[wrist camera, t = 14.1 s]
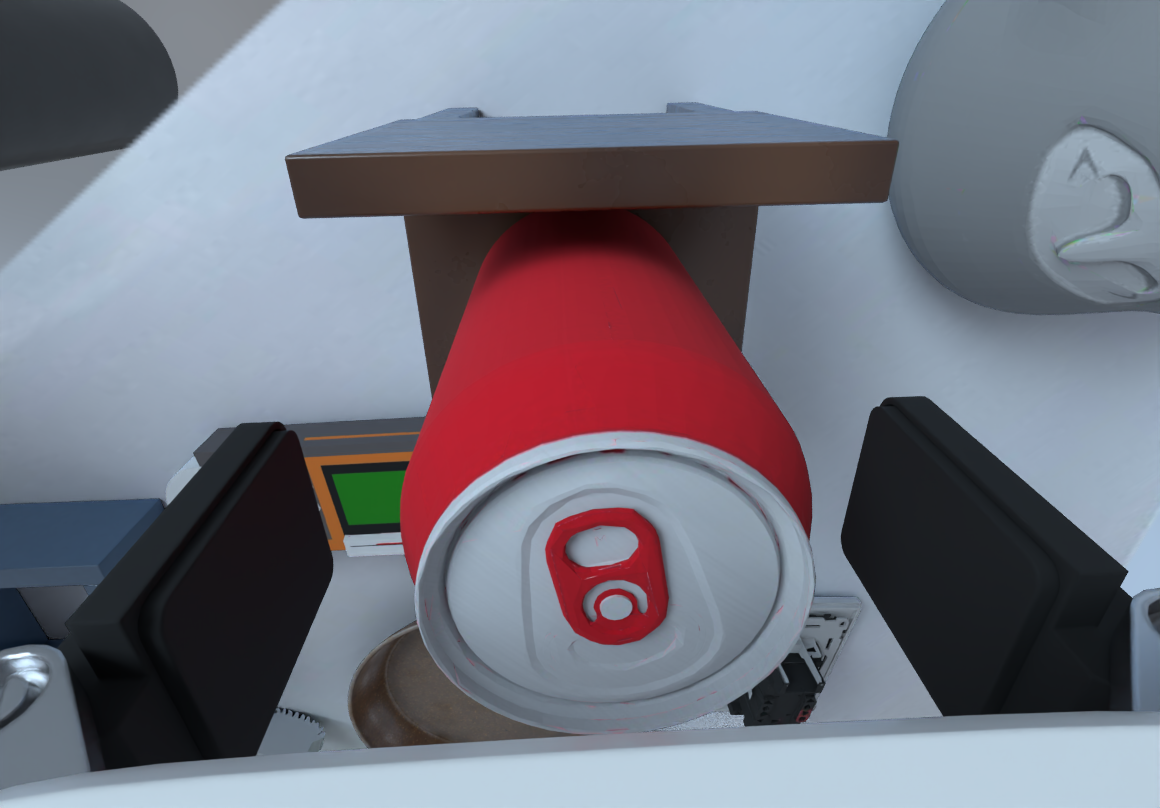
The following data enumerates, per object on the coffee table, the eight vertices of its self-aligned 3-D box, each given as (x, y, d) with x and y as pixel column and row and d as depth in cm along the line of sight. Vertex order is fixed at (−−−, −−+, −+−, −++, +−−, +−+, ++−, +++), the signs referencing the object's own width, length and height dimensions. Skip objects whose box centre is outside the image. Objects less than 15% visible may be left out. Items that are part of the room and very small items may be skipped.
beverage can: (505, 409, 20) (450, 784, 10) (450, 220, 17) (281, 462, 7) (694, 373, 20) (853, 724, 9) (670, 174, 17) (867, 352, 6)
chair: (471, 342, 29) (389, 605, 15) (444, 105, 24) (282, 155, 10) (683, 336, 29) (805, 588, 15) (699, 99, 24) (902, 139, 10)
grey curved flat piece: (180, 689, 40) (336, 718, 41) (179, 702, 40) (333, 730, 42) (123, 778, 35) (304, 807, 36) (124, 792, 35) (301, 819, 37)
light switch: (669, 697, 41) (806, 693, 43) (689, 771, 37) (840, 763, 38) (703, 590, 36) (855, 590, 38) (730, 660, 32) (900, 656, 34)
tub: (37, 653, 37) (-31, 730, 33) (-60, 506, 32) (-158, 575, 28) (225, 645, 38) (181, 721, 33) (160, 498, 32) (97, 565, 28)
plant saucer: (440, 779, 45) (432, 824, 42) (305, 624, 37) (285, 667, 34) (669, 719, 42) (677, 762, 40) (578, 537, 34) (580, 577, 32)
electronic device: (138, 459, 28) (458, 442, 27) (176, 426, 31) (469, 410, 30) (193, 567, 31) (481, 555, 31) (224, 529, 34) (489, 517, 33)
